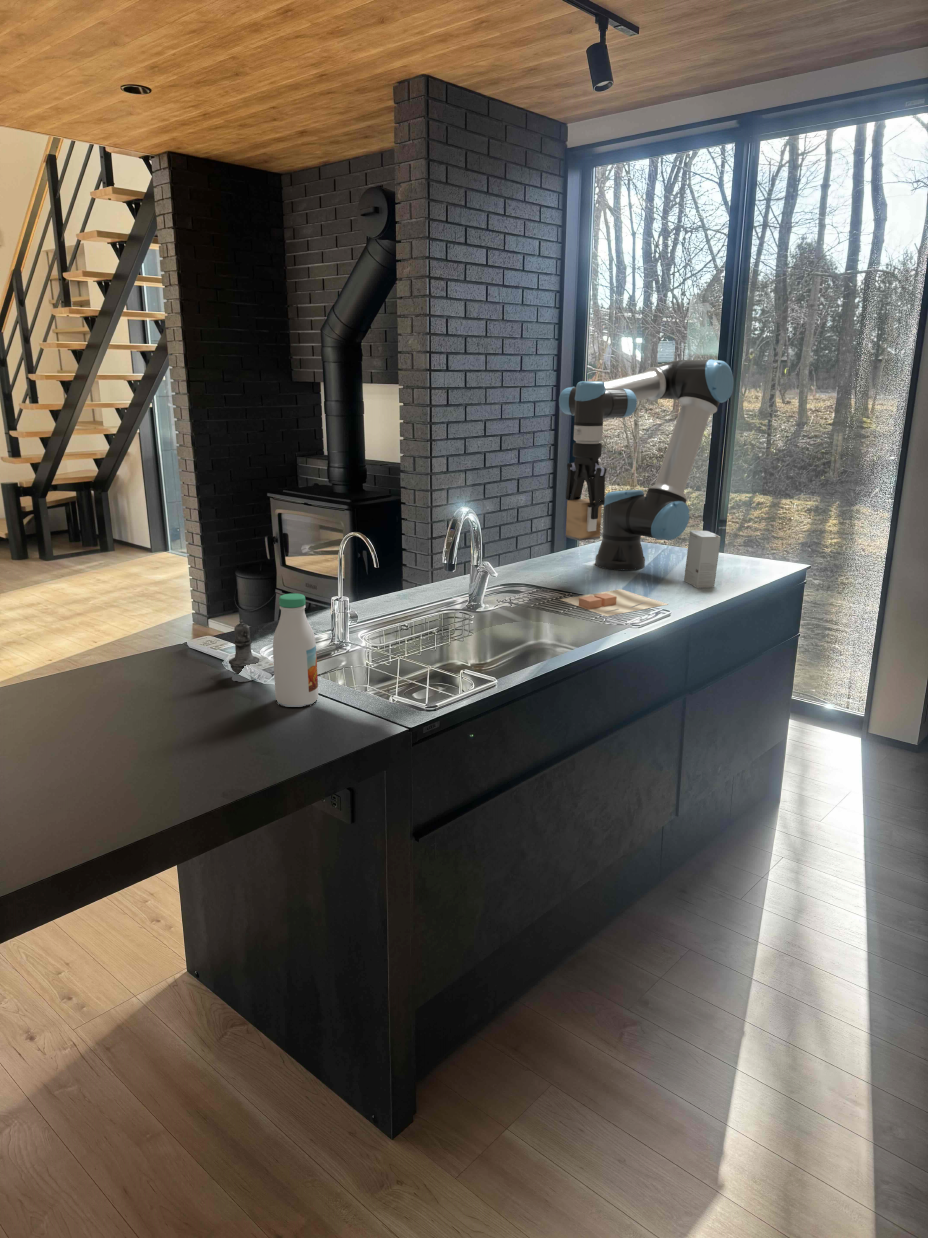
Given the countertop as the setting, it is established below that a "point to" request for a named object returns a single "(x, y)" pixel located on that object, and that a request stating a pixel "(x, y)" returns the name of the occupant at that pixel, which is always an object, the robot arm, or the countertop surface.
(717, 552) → the skincare box
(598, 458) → the robot arm
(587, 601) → the salmon orange square block
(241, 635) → the dark grey chess piece
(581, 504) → the cardboard box
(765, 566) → the countertop surface
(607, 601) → the terracotta square block
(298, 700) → the milk bottle
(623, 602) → the birch board
